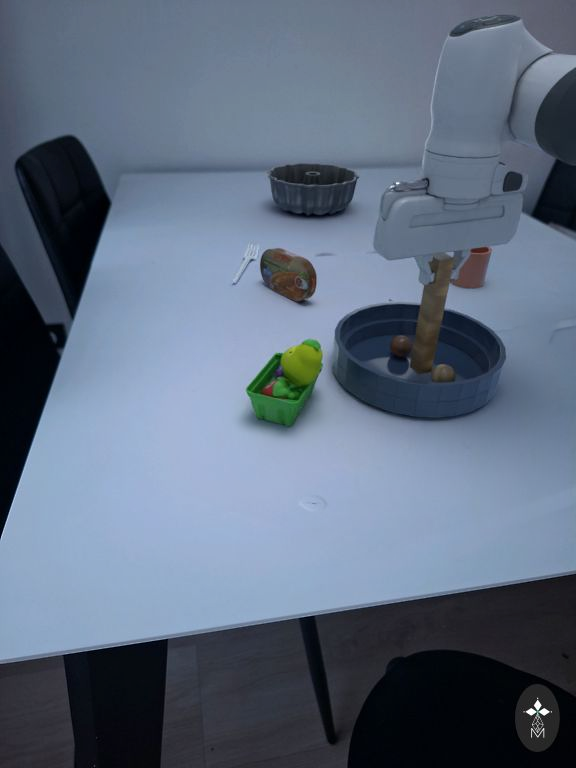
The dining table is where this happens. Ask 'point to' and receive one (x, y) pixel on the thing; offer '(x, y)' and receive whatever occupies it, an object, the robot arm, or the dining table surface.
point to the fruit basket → (286, 383)
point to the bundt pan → (312, 187)
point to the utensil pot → (474, 269)
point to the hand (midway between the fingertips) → (437, 281)
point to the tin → (288, 274)
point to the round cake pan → (393, 374)
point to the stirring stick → (431, 314)
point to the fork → (246, 261)
